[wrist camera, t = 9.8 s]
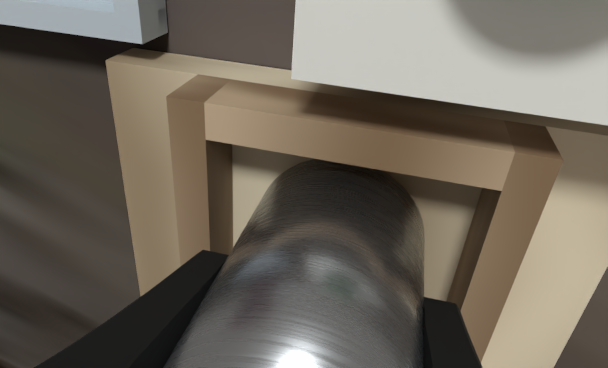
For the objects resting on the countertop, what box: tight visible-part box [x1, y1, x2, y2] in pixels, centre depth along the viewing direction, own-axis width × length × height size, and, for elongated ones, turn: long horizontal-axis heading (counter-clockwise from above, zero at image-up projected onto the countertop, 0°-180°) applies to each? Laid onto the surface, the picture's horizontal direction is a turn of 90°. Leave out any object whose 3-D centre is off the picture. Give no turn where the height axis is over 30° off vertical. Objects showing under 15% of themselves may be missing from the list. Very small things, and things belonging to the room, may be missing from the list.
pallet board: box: [105, 48, 608, 368], centre depth 13 cm, size 12×14×3 cm
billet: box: [164, 159, 425, 368], centre depth 9 cm, size 4×4×6 cm
